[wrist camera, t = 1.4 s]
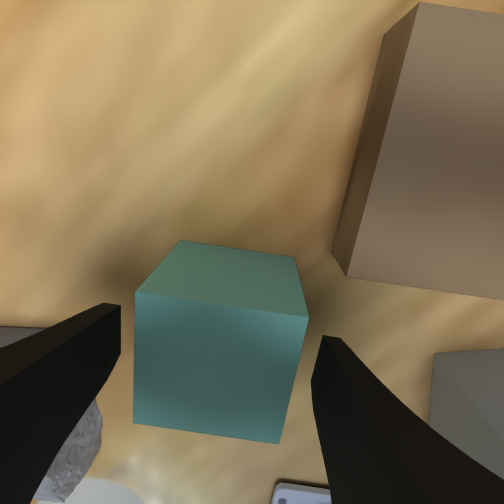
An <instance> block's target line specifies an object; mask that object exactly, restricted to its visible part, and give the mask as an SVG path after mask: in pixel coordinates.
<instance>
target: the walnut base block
mask: <svg viewBox="0 0 504 504" xmlns="http://www.w3.org/2000/svg"><path fill="white" fill-rule="evenodd" d="M332 254H333V255H334V257H335V259H336V261H337V262H338V264H339V266H340V267H341V269H342V271H343V272H344V274H345V276H346V277H349V278H355V279H362V280H369V281H376V282H382V283H389V284H396V285H403V286H410V287H416V288H423V289H430V290H437V291H443V292H450V293H457V294H464V295H470V296H477V297H484V298H491V299H498V300H504V15H502V14H496V13H489V12H482V11H476V10H469V9H463V8H456V7H450V6H443V5H437V4H430V3H424V2H419V3H418V4H417V5H416V6H415V7H414V8H413V9H411V10H410V11H409V12H408V13H407V14H406V15H405V16H404V17H403V18H402V19H401V20H399V21H398V22H397V23H396V24H395V25H394V26H393V27H392V28H391V29H390V30H389V31H387V32H386V33H385V34H384V37H383V41H382V46H381V50H380V54H379V58H378V62H377V66H376V70H375V74H374V79H373V83H372V87H371V91H370V95H369V99H368V103H367V107H366V112H365V116H364V120H363V124H362V128H361V132H360V136H359V141H358V145H357V149H356V153H355V157H354V161H353V165H352V169H351V174H350V178H349V182H348V186H347V190H346V194H345V198H344V202H343V207H342V211H341V215H340V219H339V223H338V227H337V231H336V236H335V240H334V244H333V248H332Z"/></svg>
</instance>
